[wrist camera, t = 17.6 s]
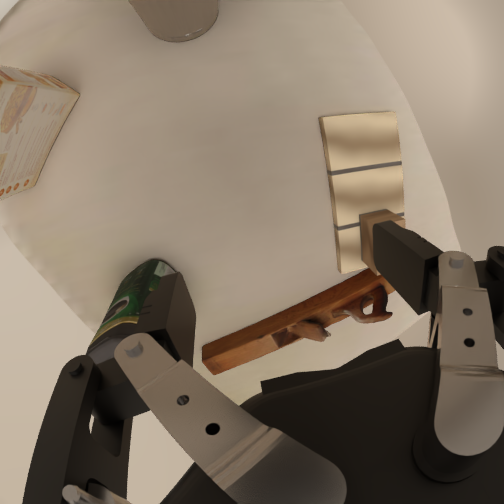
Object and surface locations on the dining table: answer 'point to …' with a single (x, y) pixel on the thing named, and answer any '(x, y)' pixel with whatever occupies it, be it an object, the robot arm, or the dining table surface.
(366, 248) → the block
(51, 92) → the coffeecake box
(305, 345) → the dining table surface
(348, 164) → the board
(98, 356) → the coffee jar
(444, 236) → the dining table surface
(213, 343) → the hand plane
